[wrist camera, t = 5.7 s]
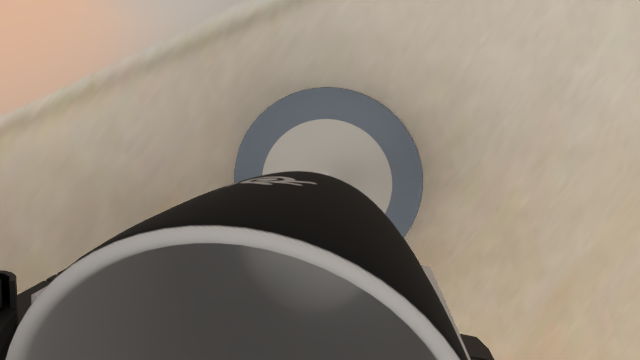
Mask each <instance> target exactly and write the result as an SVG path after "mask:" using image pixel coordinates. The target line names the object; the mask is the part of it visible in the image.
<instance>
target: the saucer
mask: <svg viewBox="0 0 640 360" xmlns="http://www.w3.org/2000/svg"><path fill="white" fill-rule="evenodd" d="M286 171H306V172H315V173H321V174H324V175H328V176H332V177H334V178H337V179H340V180H342V181H344V182H346V183H348V184H350V185H352V186H353V187H355V188H356V189H358V190H360V191H361V192H362V193H363V194H365V195H366V196H367V197H369V198H370V199H371V200H372V201H373V202H374V203H375V204H376V205H377V206H378V207H379V208H380V209H381V210H382V211H383V212H384V213H385V215H386V216H387V217H388V218H389V219H390V220H391V222H392V223H393V224H394V225H395V227H396V228H397V230H398V231H399V232H400V234H401V235H402V237H404V236H405V235H406V234H407V232H408V230H409V229H410V227H411V225H412V224H413V222H414V219H415V217H416V215H417V213H418V209H419V206H420V202H421V197H422V190H423V173H422V166H421V161H420V157H419V154H418V150H417V148H416V146H415V143H414V141H413V139H412V137H411V136H410V134H409V132H408V131H407V129H406V128H405V126H404V125H403V124H402V123H401V121H400V120H399V119H398V118H397V117H396V116H395V115H394V114H393V113H392V112H391V111H390V110H389V109H387V108H386V107H385V106H383V105H382V104H380V103H379V102H377V101H376V100H374V99H372V98H370V97H368V96H366V95H363V94H361V93H358V92H355V91H352V90H347V89H342V88H331V87H323V88H312V89H307V90H302V91H299V92H296V93H293V94H290V95H288V96H286V97H284V98H282V99H280V100H278V101H277V102H276V103H274V104H273V105H271V106H270V107H268V108H267V109H266V110H265V111H264V112H263V113H262V114H261V115H260V116H259V117H258V118H257V119H256V120H255V121H254V123H253V124H252V125H251V127H250V128H249V130H248V131H247V133H246V135H245V136H244V139H243V141H242V143H241V145H240V148H239V151H238V155H237V158H236V164H235V171H234V183H237V182H240V181H243V180H246V179H249V178H253V177H257V176H262V175H266V174H271V173H278V172H286Z"/></svg>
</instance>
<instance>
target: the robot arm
mask: <svg viewBox="0 0 640 360" xmlns="http://www.w3.org/2000/svg"><path fill="white" fill-rule="evenodd" d="M421 267H422V268H423V270H424V272H425V274H426V275H427V277H428V279H429V281H430V282H431V284H432V286H433V288H434V290H435V292H436V293H437V295H438V297H439V299H440V301H441V303H442V305H443V307H444V309H445V311H446V313H447V315H448V317H449V319H450V321H451V323H452V325H453V327H454V329H455V331H456V334H457V336H458V338H459V340H460V342H461V345H462V347H463V349H464V352H465V354H466V356H467V358H468V360H494V358H493V356H492V355H491V353H490V351H489V349H488V348H487V347H486V346H485V345H484V344H483V343H482V342H481V341H480V340H479V339H478V338H477V337H473V336H468V335H463V334H459V332H458V329H457V327H456V325H455V323H454V320H453V318H452V316H451V313H450V311H449V309H448V306H447V304H446V302H445V300H444V297H443V295H442V293H441V290H440V288H439V286H438V284H437V281H436V279H435V277H434V274H433V272H432V270H431V267H427V266H422V265H421ZM66 269H67V268H66ZM64 270H65V269H64ZM64 270H63V271H64ZM63 271H61V272H59V273H58V274H57V275H54V276H52V277H50V278H48V279H47V280H46V281H43V282H41V283H39V284H37V285H35V286H33V287H32V288H30V289H28V290H26V291H24V292H22V293H21V294H19V295H17V286H16V276H15V275H14V274H13V273H12V272H8V271H0V360H6V356H7V353H8V350H9V346H10V343H11V341H12V339H13V336H14V334H15V332H16V330H17V327H18V325H19V324H20V322H21V320H22V318H23V317H24V315H25V313H26V312H27V310H28V308H29V307H30V306H31V305H32V303H33V302H34V301H35V299H36V298H37V297H38V296H39V294H40V293H41V292H42V291H43V290H44V289H45V288H46V287H47V286H48V285H49V284H50V283H51V282H52V281H53V280H54V279H55V278H56V277H57V276H58V275H59V274H60V273H62V272H63Z"/></svg>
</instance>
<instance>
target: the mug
mask: <svg viewBox="0 0 640 360" xmlns="http://www.w3.org/2000/svg"><path fill="white" fill-rule="evenodd" d="M6 360H468V358H467V356H466V354H465V352H464V349H463V347H462V345H461V342H460V340H459V338H458V336H457V334H456V331H455V329H454V327H453V325H452V323H451V321H450V319H449V317H448V315H447V313H446V311H445V309H444V307H443V305H442V303H441V301H440V299H439V297H438V295H437V293H436V292H435V290H434V288H433V286H432V284H431V282H430V281H429V279H428V277H427V275H426V274H425V272H424V270H423V268H422V267H421V265H420V263H419V262H418V260H417V258H416V257H415V255H414V253H413V252H412V250H411V249H410V247H409V245H408V244H407V242H406V241H405V239H404V238H403V237H402V235H401V234H400V232H399V231H398V230H397V228H396V227H395V225H394V224H393V223H392V222H391V220H390V219H389V218H388V217H387V216H386V215H385V213H384V212H383V211H382V210H381V209H380V208H379V207H378V206H377V205H376V204H375V203H374V202H373V201H372V200H371V199H370V198H369V197H367V196H366V195H365V194H363V193H362V192H361V191H360V190H358V189H356V188H355V187H353V186H352V185H350V184H348V183H346V182H344V181H342V180H340V179H337V178H334V177H332V176H328V175H324V174H321V173H315V172H306V171H286V172H278V173H271V174H266V175H262V176H257V177H253V178H249V179H246V180H243V181H240V182H237V183H234V184H231V185H228V186H225V187H222V188H219V189H216V190H213V191H211V192H208V193H206V194H203V195H201V196H198V197H196V198H193V199H191V200H189V201H186V202H184V203H182V204H180V205H177V206H175V207H173V208H171V209H169V210H166V211H164V212H162V213H160V214H158V215H156V216H154V217H151V218H149V219H147V220H145V221H143V222H141V223H139V224H137V225H135V226H133V227H131V228H129V229H127V230H126V231H124V232H122V233H120V234H118V235H117V236H115V237H113V238H112V239H110V240H108V241H107V242H105V243H103V244H102V245H100V246H98V247H97V248H95V249H93V250H92V251H90V252H89V253H87V254H85V255H84V256H82V257H81V258H79V259H78V260H77V261H76V262H74V263H73V264H72V265H70V266H69V267H68V268H67V269H65V270H64V271H63V272H62V273H60V274H59V275H58V276H57V277H56V278H55V279H54V280H53V281H52V282H51V283H50V284H49V285H48V286H47V287H46V288H45V289H44V290H43V291H42V292H41V293H40V294H39V296H38V297H37V298H36V299H35V301H34V302H33V303H32V305H31V306H30V307H29V308H28V310H27V312H26V313H25V315H24V317H23V318H22V320H21V322H20V324H19V325H18V327H17V330H16V332H15V334H14V336H13V339H12V341H11V343H10V346H9V350H8V353H7V356H6Z"/></svg>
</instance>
